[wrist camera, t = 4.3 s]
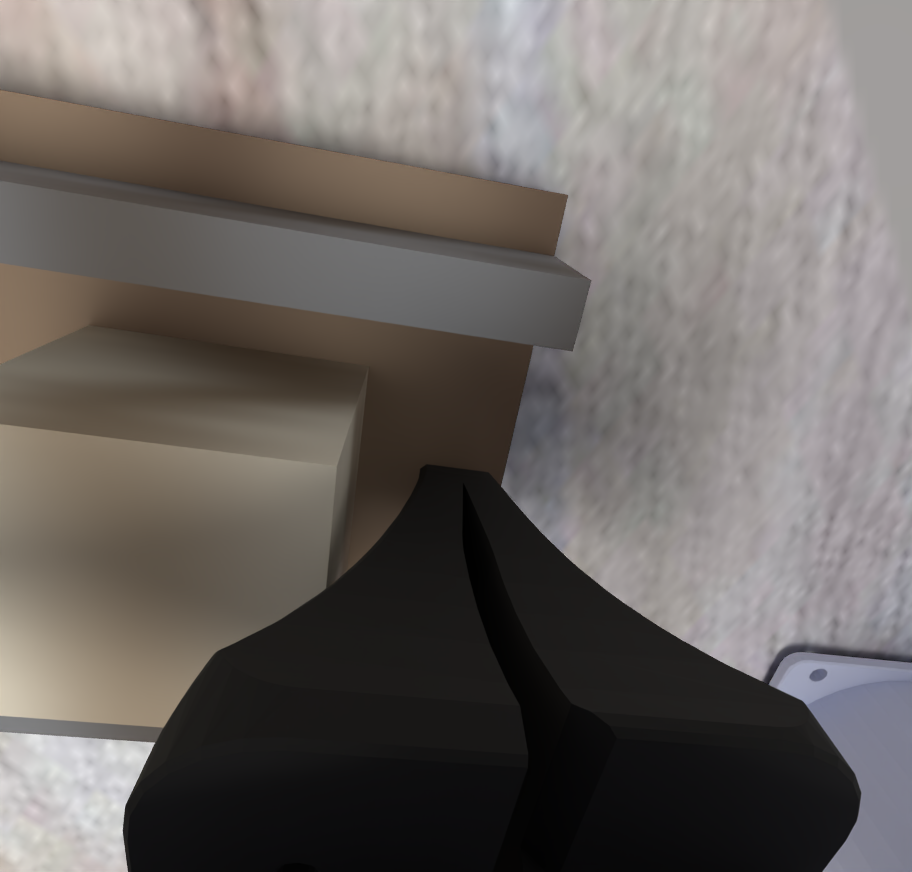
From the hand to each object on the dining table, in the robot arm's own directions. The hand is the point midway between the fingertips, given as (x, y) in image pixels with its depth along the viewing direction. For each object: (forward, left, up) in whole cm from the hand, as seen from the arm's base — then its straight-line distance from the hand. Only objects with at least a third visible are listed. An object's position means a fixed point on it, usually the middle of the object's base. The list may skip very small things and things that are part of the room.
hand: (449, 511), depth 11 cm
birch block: (+4, 0, -1) cm, 4 cm away
